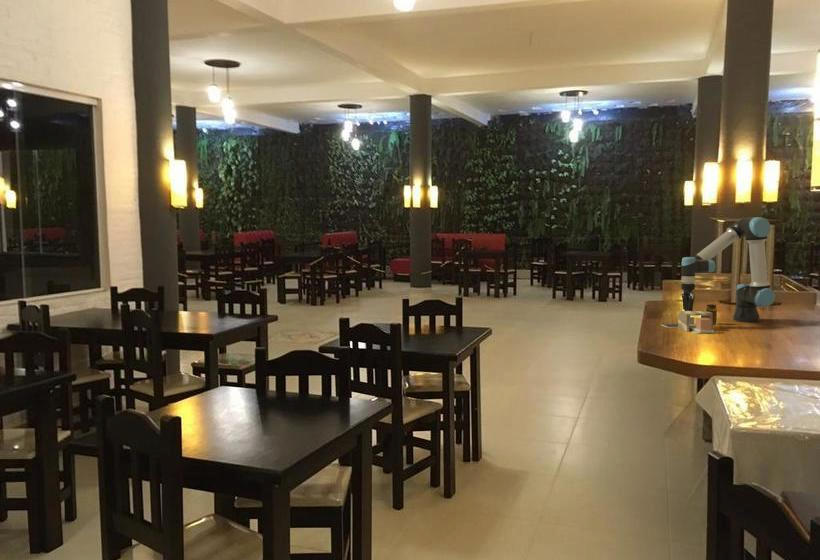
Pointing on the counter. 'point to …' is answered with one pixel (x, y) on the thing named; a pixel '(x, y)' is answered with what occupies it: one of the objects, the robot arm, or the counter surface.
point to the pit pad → (671, 325)
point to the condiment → (713, 310)
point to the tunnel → (684, 315)
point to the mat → (700, 333)
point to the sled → (700, 325)
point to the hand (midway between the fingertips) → (687, 322)
